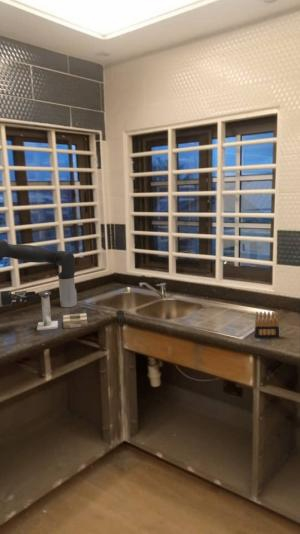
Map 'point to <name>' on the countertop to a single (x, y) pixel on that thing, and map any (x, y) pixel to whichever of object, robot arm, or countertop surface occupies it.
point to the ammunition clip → (266, 326)
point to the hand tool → (120, 317)
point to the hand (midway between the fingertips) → (34, 295)
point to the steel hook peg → (46, 307)
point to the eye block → (75, 320)
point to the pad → (52, 326)
